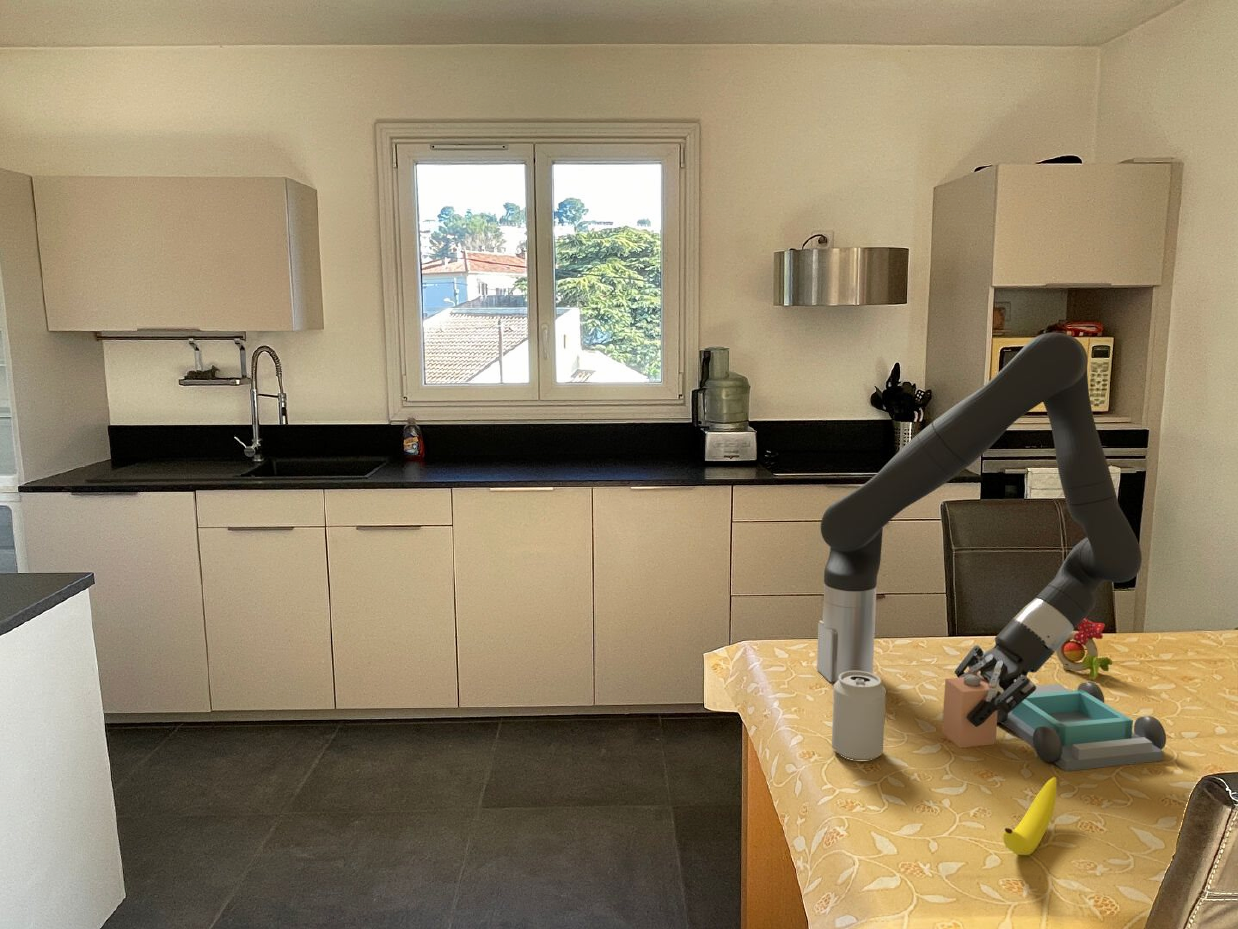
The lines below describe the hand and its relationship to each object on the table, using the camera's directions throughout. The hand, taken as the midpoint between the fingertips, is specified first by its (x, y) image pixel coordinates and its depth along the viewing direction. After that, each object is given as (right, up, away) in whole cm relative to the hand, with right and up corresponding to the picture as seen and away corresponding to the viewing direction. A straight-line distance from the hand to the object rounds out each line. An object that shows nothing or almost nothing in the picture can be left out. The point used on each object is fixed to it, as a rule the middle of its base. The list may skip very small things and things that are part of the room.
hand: (959, 713), depth 139 cm
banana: (-1, -9, -27) cm, 28 cm away
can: (-17, -5, -3) cm, 18 cm away
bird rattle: (+32, 0, +25) cm, 41 cm away
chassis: (+18, -4, +2) cm, 18 cm away
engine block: (+2, -4, +1) cm, 5 cm away
